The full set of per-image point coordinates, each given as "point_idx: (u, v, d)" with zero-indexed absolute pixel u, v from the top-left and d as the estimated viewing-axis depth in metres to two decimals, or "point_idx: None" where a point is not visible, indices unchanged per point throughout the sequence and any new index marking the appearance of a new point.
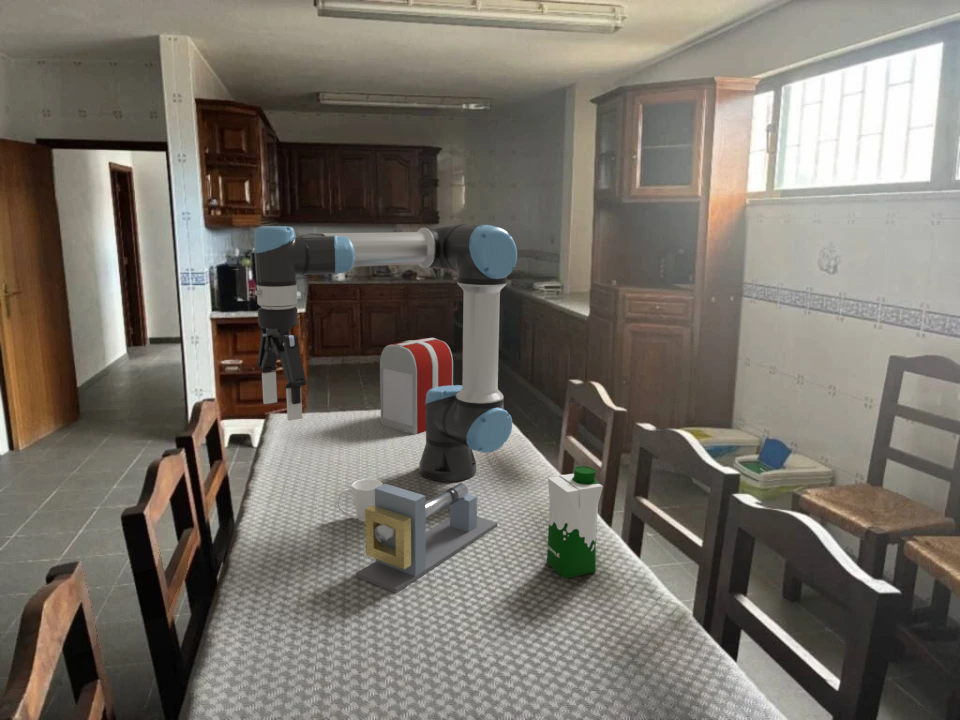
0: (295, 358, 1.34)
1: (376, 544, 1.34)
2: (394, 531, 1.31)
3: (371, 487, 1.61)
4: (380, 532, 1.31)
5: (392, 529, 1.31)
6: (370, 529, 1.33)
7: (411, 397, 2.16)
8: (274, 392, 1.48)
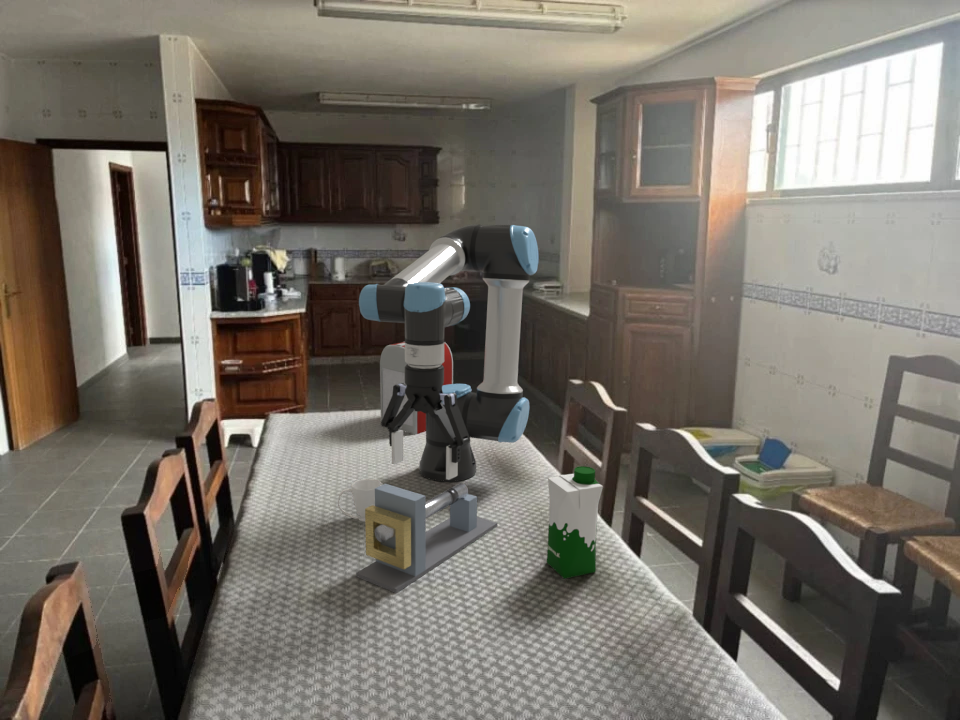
0: (458, 417, 1.32)
1: (376, 544, 1.34)
2: (394, 531, 1.31)
3: (371, 487, 1.61)
4: (380, 532, 1.31)
5: (392, 529, 1.31)
6: (370, 529, 1.33)
7: None
8: (401, 451, 1.43)
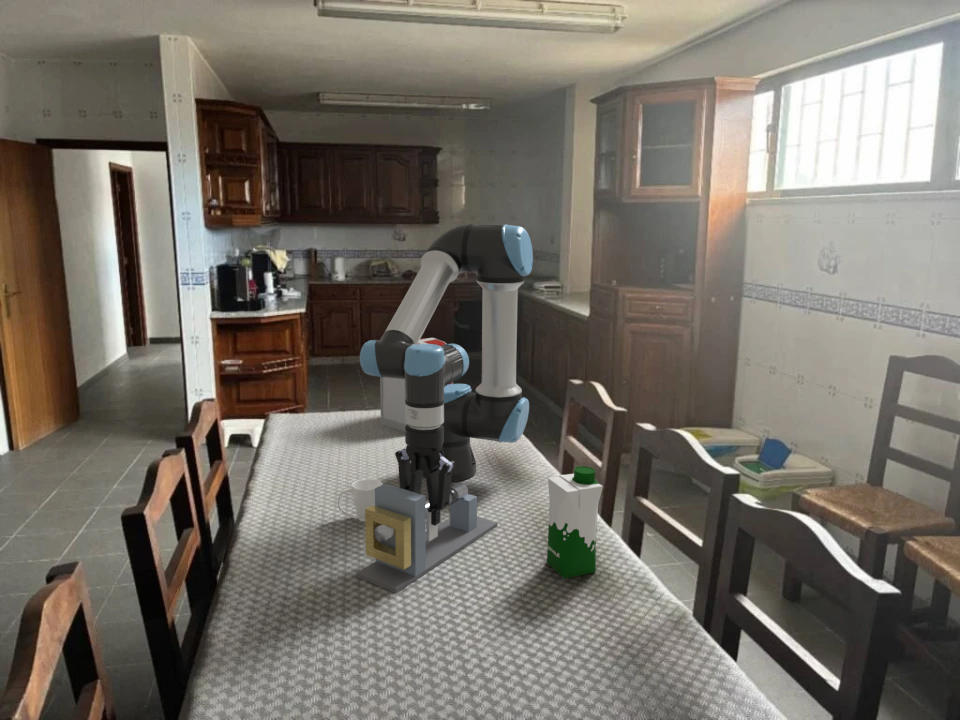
0: (447, 484, 1.37)
1: (376, 544, 1.34)
2: (394, 531, 1.31)
3: (371, 487, 1.61)
4: (380, 532, 1.31)
5: (392, 529, 1.31)
6: (370, 529, 1.33)
7: None
8: None
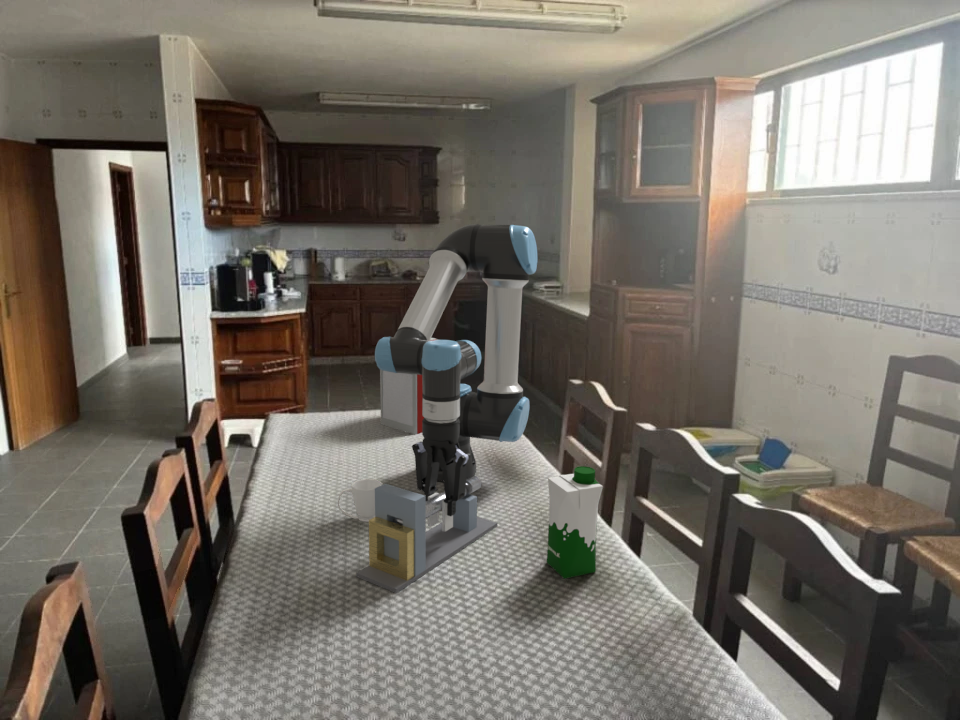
0: (463, 476, 1.41)
1: (380, 555, 1.36)
2: None
3: (371, 487, 1.61)
4: (398, 522, 1.35)
5: None
6: (374, 540, 1.35)
7: (411, 397, 2.16)
8: (437, 513, 1.48)
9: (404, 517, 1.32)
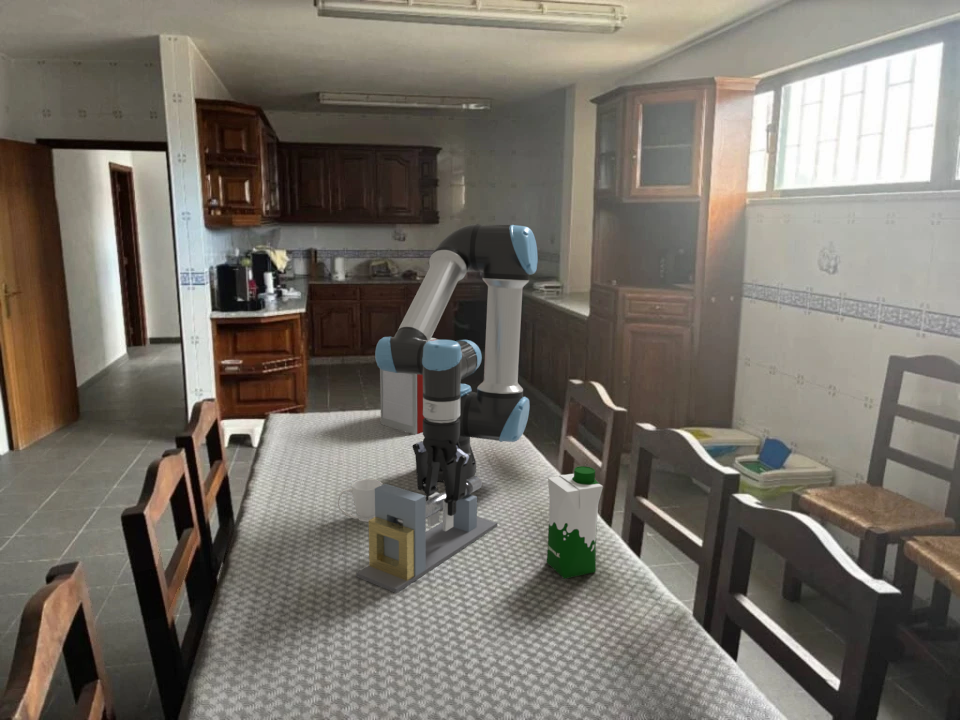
0: (463, 475, 1.41)
1: (380, 555, 1.36)
2: None
3: (371, 487, 1.61)
4: (398, 522, 1.35)
5: None
6: (373, 540, 1.35)
7: (411, 397, 2.16)
8: (437, 513, 1.48)
9: (404, 517, 1.32)
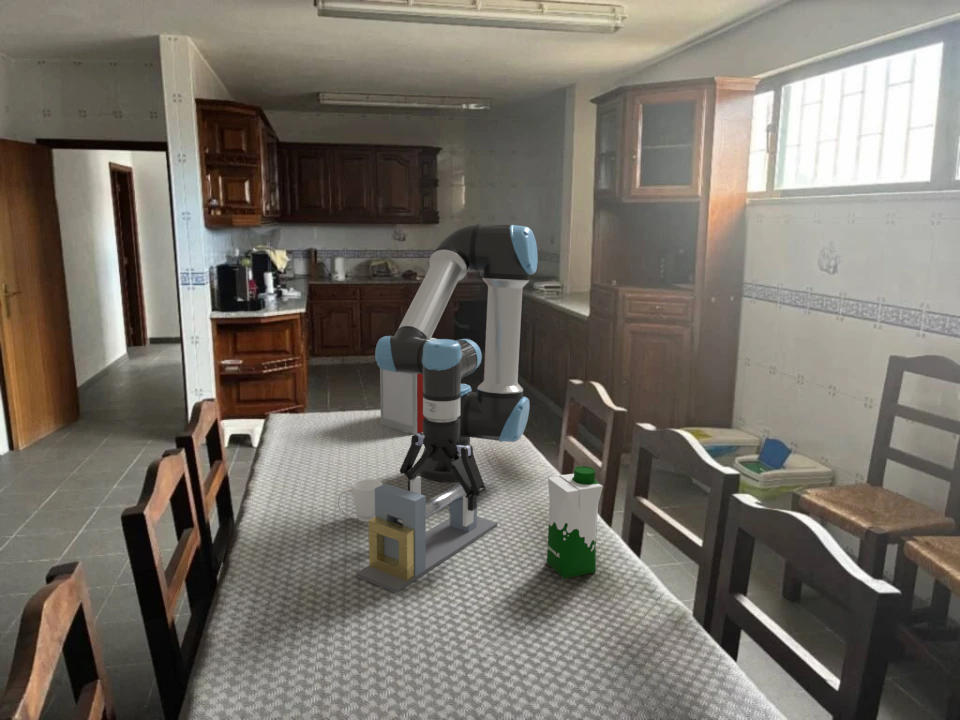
0: (474, 468, 1.39)
1: (380, 555, 1.36)
2: None
3: (371, 487, 1.61)
4: (398, 522, 1.35)
5: None
6: (373, 540, 1.35)
7: (411, 397, 2.16)
8: None
9: (404, 517, 1.32)
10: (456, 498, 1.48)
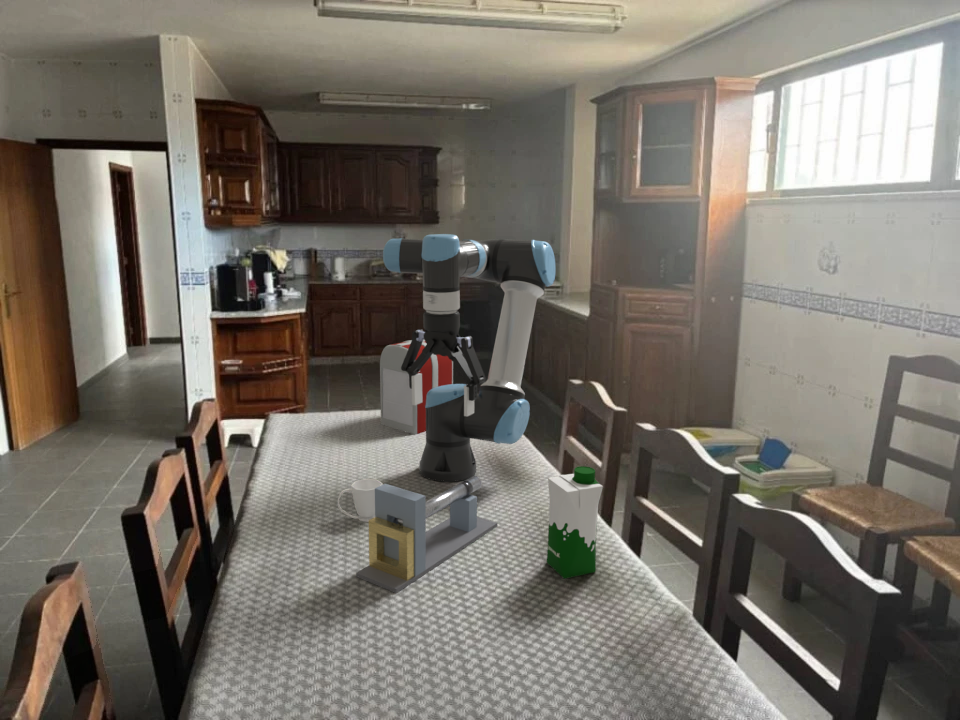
0: (474, 358, 1.43)
1: (380, 555, 1.36)
2: None
3: (371, 487, 1.61)
4: (398, 522, 1.35)
5: None
6: (373, 540, 1.35)
7: (411, 397, 2.16)
8: (420, 393, 1.54)
9: (404, 517, 1.32)
10: (456, 498, 1.48)
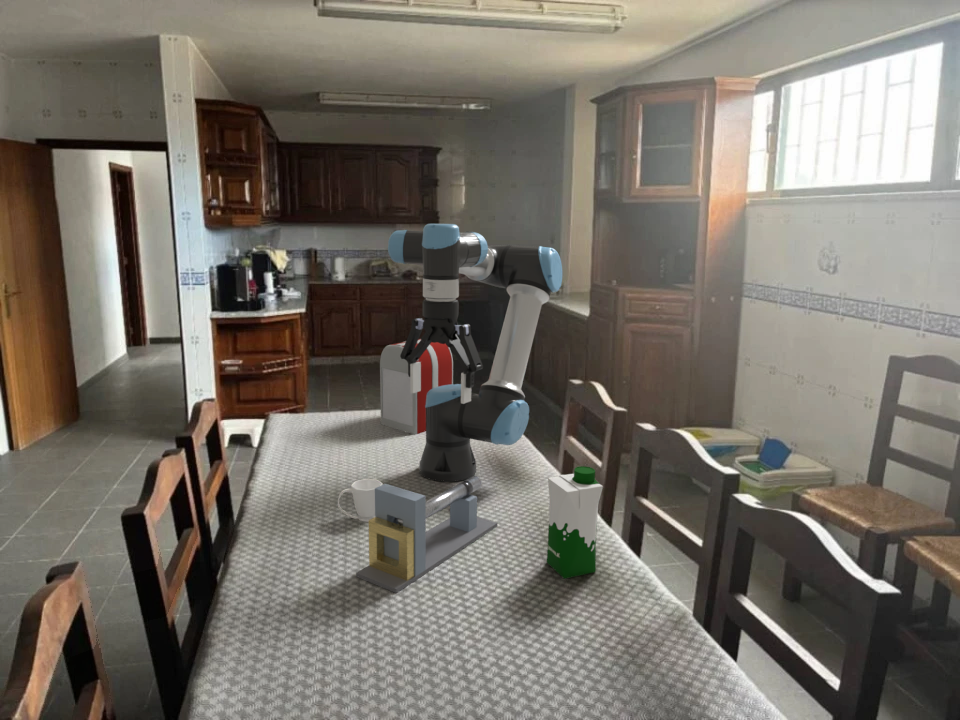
0: (471, 345, 1.45)
1: (380, 555, 1.36)
2: None
3: (371, 487, 1.61)
4: (398, 522, 1.35)
5: None
6: (373, 540, 1.35)
7: (411, 397, 2.16)
8: (419, 381, 1.56)
9: (404, 517, 1.32)
10: (456, 498, 1.48)
